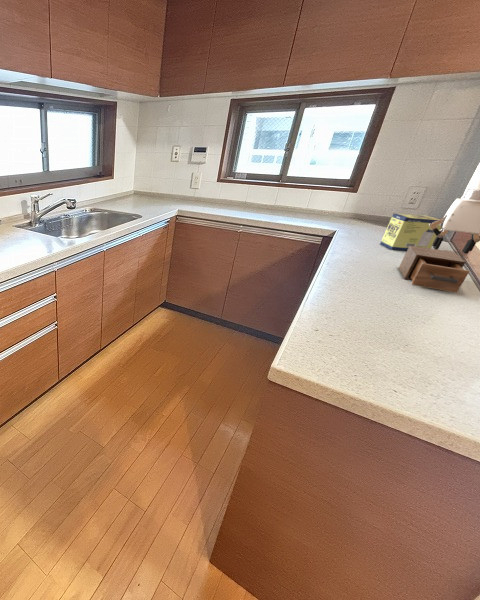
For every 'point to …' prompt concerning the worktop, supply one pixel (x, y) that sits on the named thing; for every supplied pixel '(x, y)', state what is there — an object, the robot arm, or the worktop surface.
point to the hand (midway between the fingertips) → (449, 250)
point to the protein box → (409, 232)
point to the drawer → (438, 274)
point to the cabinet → (427, 253)
